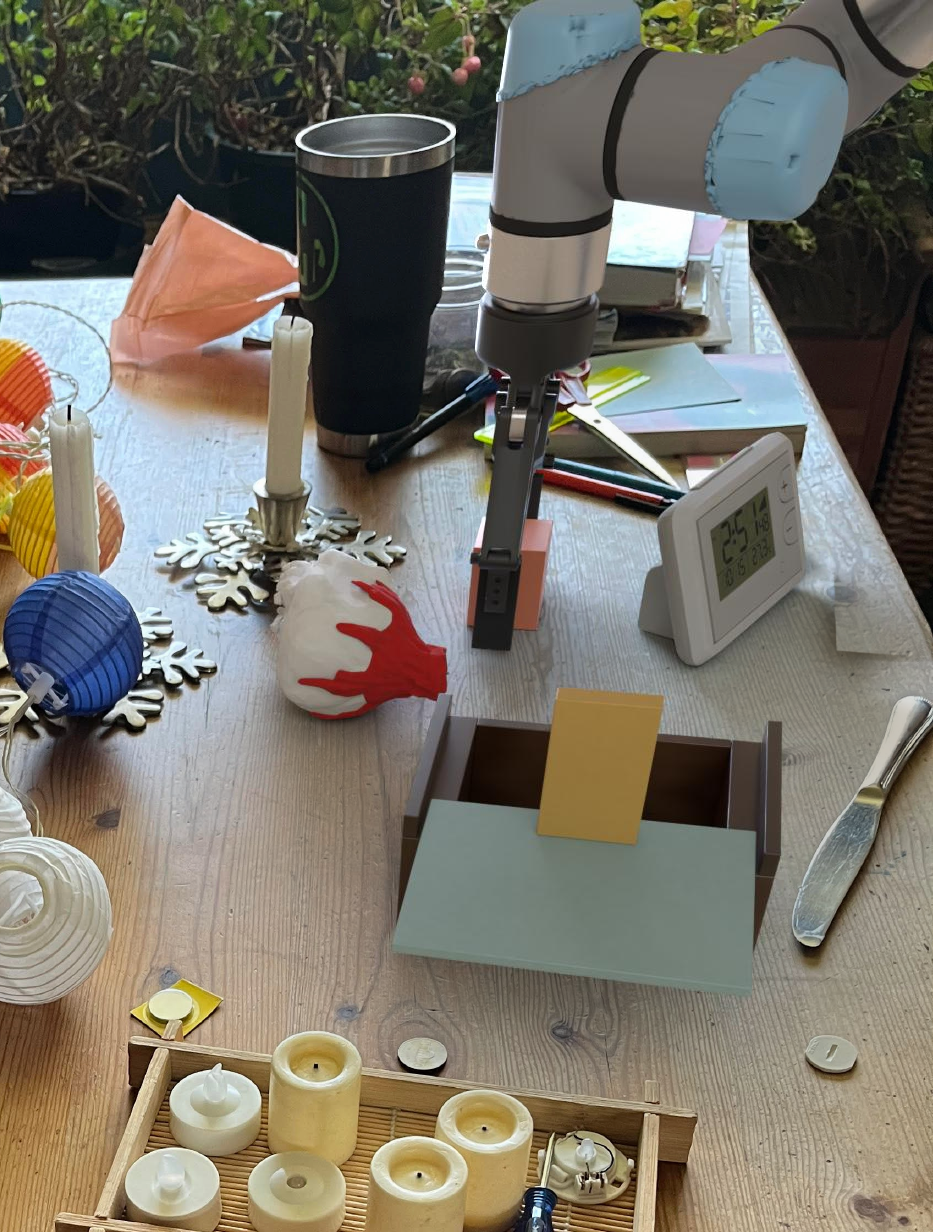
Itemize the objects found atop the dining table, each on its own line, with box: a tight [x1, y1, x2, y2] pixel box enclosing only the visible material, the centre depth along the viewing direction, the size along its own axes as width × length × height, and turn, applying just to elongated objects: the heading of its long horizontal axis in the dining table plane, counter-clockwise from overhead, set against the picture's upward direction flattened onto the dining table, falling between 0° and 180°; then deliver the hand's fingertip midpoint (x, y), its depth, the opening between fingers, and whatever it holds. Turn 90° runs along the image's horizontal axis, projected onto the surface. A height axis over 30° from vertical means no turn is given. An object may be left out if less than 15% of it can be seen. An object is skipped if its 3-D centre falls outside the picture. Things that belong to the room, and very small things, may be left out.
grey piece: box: [390, 686, 756, 999], centre depth 75 cm, size 17×13×9 cm
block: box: [466, 516, 554, 631], centre depth 113 cm, size 5×5×6 cm
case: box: [395, 693, 783, 954], centre depth 87 cm, size 19×13×9 cm
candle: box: [269, 548, 450, 720], centre depth 105 cm, size 9×11×15 cm
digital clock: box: [637, 431, 807, 667], centre depth 108 cm, size 16×9×11 cm, turn 126°
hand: (502, 601), depth 114 cm, fingers open, 13 cm apart
